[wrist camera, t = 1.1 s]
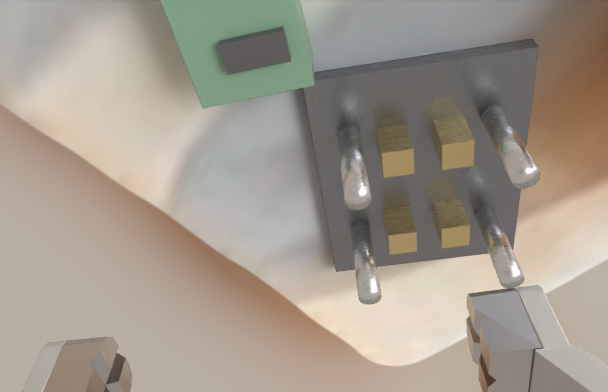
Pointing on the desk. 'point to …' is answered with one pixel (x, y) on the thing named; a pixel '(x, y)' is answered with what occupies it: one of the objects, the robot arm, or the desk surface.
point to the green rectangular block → (242, 47)
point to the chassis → (424, 158)
